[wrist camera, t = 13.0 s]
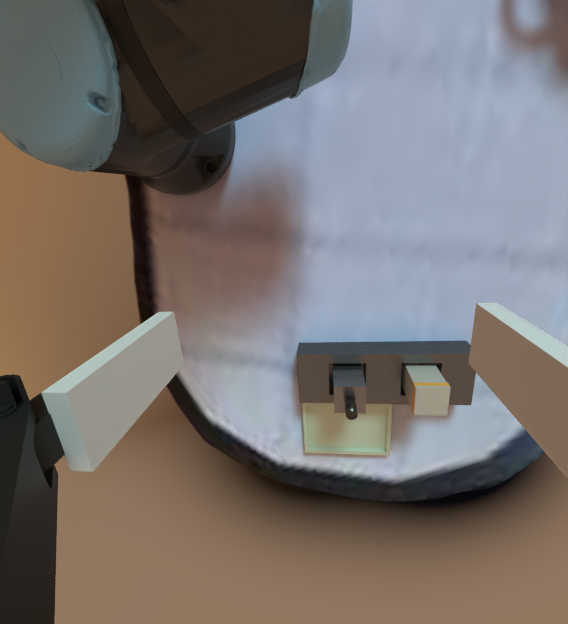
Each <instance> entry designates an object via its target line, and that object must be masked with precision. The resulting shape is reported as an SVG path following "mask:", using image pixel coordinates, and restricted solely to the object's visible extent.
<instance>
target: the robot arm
mask: <svg viewBox="0 0 568 624" xmlns="http://www.w3.org/2000/svg"><path fill="white" fill-rule="evenodd" d="M352 1H353V0H0V132H1V133H2V134H3V135H4V136H5V137H6V138H7V139H8V140H9V141H10V142H11V143H12V144H14V145H15V146H16V147H17V148H19V149H20V150H21V151H23V152H25V153H27V154H28V155H30V156H32V157H34V158H36V159H37V160H40V161H42V162H45V163H48V164H52V165H56V166H60V167H63V168H66V169H69V170H74V171H78V172H79V171H81V172H85V171H94V172H104V173H114V174H124V175H134V176H137V177H138V178H139V179H140V180H141V181H142V182H144V183H145V184H147V185H148V186H150V187H152V188H154V189H156V190H158V191H161V192H164V193H168V194H177V195H188V194H195V193H198V192H201V191H203V190H205V189H207V188H209V187H210V186H212V185H213V184H214V183H216V182H217V181H218V180H219V179H220V177H221V176H222V175H223V174H224V172H225V171H226V169H227V167H228V165H229V163H230V161H231V158H232V155H233V151H234V145H235V123H234V122H235V121H237V120H239V119H241V118H243V117H246V116H248V115H250V114H252V113H254V112H257V111H259V110H261V109H263V108H265V107H268V106H270V105H272V104H274V103H276V102H279V101H281V100H283V99H285V98H287V97H289V98H290V99H293V98H296V97H297V96H299V95H300V94H301V92H302V91H303V90H305V89H307V88H309V87H311V86H313V85H315V84H317V83H319V82H321V81H323V80H325V79H327V78H328V77H330V76H331V75H332V74H334V73H335V72H336V70H337V69H338V67H339V65H340V64H341V62H342V61H343V59H344V57H345V54H346V51H347V47H348V43H349V38H350V31H351V20H352ZM183 365H184V362H183V356H182V351H181V346H180V341H179V336H178V331H177V325H176V320H175V315H174V312H158V313H156V314H155V315H153V316H152V317H150V318H149V319H148V320H146V321H145V322H143V323H142V324H140V325H139V326H137V327H136V328H134V329H133V330H132V331H130V332H129V333H127V334H126V335H124V336H123V337H121V338H120V339H118V340H117V341H116V342H114V343H113V344H111V345H110V346H108V347H107V348H105V349H104V350H102V351H101V352H100V353H98V354H97V355H95V356H94V357H92V358H91V359H89V360H88V361H86V362H85V363H84V364H82V365H81V366H79V367H78V368H76V369H75V370H73V371H72V372H70V373H69V374H68V375H66V376H65V377H63V378H62V379H60V380H59V381H57V382H56V383H54V384H53V385H51V386H50V387H49V388H47V389H46V390H44V391H43V392H41V393H40V394H39V395H37V396H36V397H34V398H33V399H31V400H30V401H29V398H28V396H27V393H26V390H25V388H24V385H23V383H22V380H21V378H20V376H18V375H4V376H0V624H54V615H55V575H56V535H57V534H56V533H57V493H58V473H57V471H56V468H55V465H54V464H55V463H56V462H57V461H58V460H59V459H60V458H61V457H62V456H63V455H64V456H65V458H66V461H67V464H68V467H69V469H70V471H85V472H87V471H88V472H93V471H94V470H95V469H96V468H97V466H98V465H99V464H100V463H101V462H102V461H103V459H104V458H105V457H106V456H107V455H108V453H109V452H110V451H111V450H112V449H113V447H114V446H115V445H116V444H117V443H118V442H119V440H120V439H121V438H122V437H123V436H124V434H125V433H126V432H127V431H128V430H129V429H130V427H131V426H132V425H133V424H134V423H135V422H136V420H137V419H138V418H139V417H140V416H141V415H142V413H143V412H144V411H145V410H146V409H147V407H148V406H149V405H150V404H151V403H152V401H153V400H154V399H155V398H156V397H157V395H158V394H159V393H160V392H161V391H162V390H163V389H164V387H165V386H166V385H167V384H168V383H169V381H170V380H171V379H172V378H173V377H174V376H175V374H176V373H177V372H178V371H179V370H180V368H181V367H182V366H183ZM469 365H470V366H471V367H472V368H473V369H474V370H475V372H476V373H477V374H478V375H479V376H480V377H481V378H482V380H483V381H484V382H485V383H486V384H487V385H488V387H489V388H490V389H491V390H492V391H493V392H494V394H495V395H496V396H497V397H498V398H499V399H500V401H501V402H502V403H503V404H504V405H505V406H506V407H507V409H508V410H509V411H510V412H511V413H512V414H513V416H514V417H515V418H516V419H517V420H518V421H519V423H520V424H521V425H522V426H523V427H524V428H525V429H526V431H527V432H528V433H529V434H530V435H531V436H532V438H533V439H534V440H535V441H536V442H537V443H538V445H539V446H540V447H541V448H542V449H543V450H544V452H545V453H546V454H547V455H548V456H549V457H550V458H551V460H552V461H553V462H554V463H555V464H556V465H557V467H558V468H559V469H560V470H561V471H562V472H563V474H564V475H565V476H566V477H567V478H568V346H566V345H564V344H563V343H561V342H560V341H558V340H556V339H555V338H553V337H551V336H550V335H548V334H547V333H545V332H543V331H542V330H540V329H538V328H537V327H535V326H534V325H532V324H530V323H529V322H527V321H525V320H524V319H522V318H521V317H519V316H517V315H516V314H514V313H512V312H511V311H509V310H508V309H506V308H504V307H503V306H501V305H499V304H498V303H476V310H475V318H474V325H473V333H472V340H471V348H470V355H469Z"/></svg>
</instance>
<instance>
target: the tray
mask: <svg viewBox="0 0 568 624" xmlns="http://www.w3.org/2000/svg"><path fill="white" fill-rule="evenodd" d="M302 411H303V428H304V445H305V453H327V454H356V455H385V456H390V445H391V425H392V404H366V414H361V413H357V414H358V416H357V418H356V419H354V420H349V419H348V418H347V417H346V413H334V403H302Z"/></svg>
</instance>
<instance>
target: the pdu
mask: <svg viewBox="0 0 568 624" xmlns="http://www.w3.org/2000/svg"><path fill="white" fill-rule="evenodd" d="M470 348H471V345H470V344H469V343H468V342H467V341H415V342H333V343H299V347H298V352H297V362H298V378H299V394H300V403H334V413H346V417H347V418H348V419H349V420H354V419H356V418H357V416H358V414H357V413H361V414H366V404H409V402H408V399H407V397H406V394H405V392H404V389H403V387H402V384H401V373H402V363H434V364H435V365H436V367H437V368H438V370H439V371H440V373H441V374H442V376H443V377H444V379H445V380H446V382H448V384H449V385H450V388H451V389H450V398H449V405H471V402H472V395H473V388H474V381H475V374H476V372H475V370H474V369H473V368H472V367H471V366H470V365H469V355H470Z"/></svg>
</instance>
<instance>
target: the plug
mask: <svg viewBox="0 0 568 624" xmlns="http://www.w3.org/2000/svg"><path fill="white" fill-rule="evenodd" d="M401 384H402V387H403V389H404V392H405V394H406V397H407V399H408V402H409V404H410V407H411V410H412V413H413V414H414V415H435V416H447V415H448V406H449V398H450V389H451V388H450V385H449V384H448V382H446V380H445V379H444V377H443V376H442V374H441V373H440V371H439V370H438V368H437V367H436V365H435V364H434V363H402V373H401Z"/></svg>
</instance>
